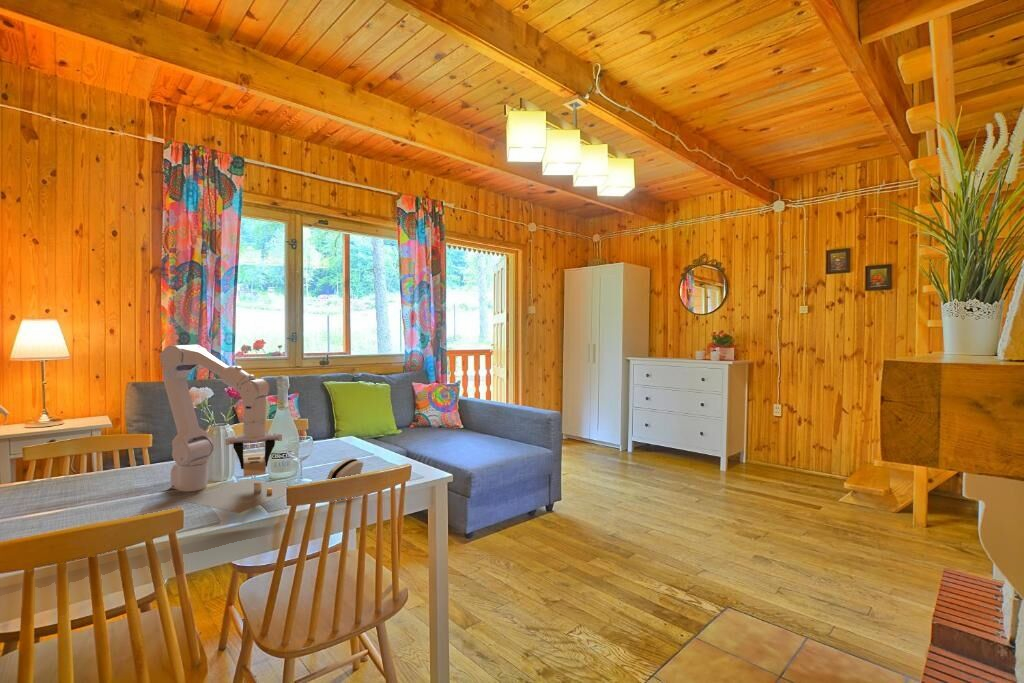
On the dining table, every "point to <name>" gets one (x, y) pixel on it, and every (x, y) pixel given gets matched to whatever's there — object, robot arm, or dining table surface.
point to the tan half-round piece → (346, 468)
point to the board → (239, 495)
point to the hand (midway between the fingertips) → (254, 467)
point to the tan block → (254, 464)
